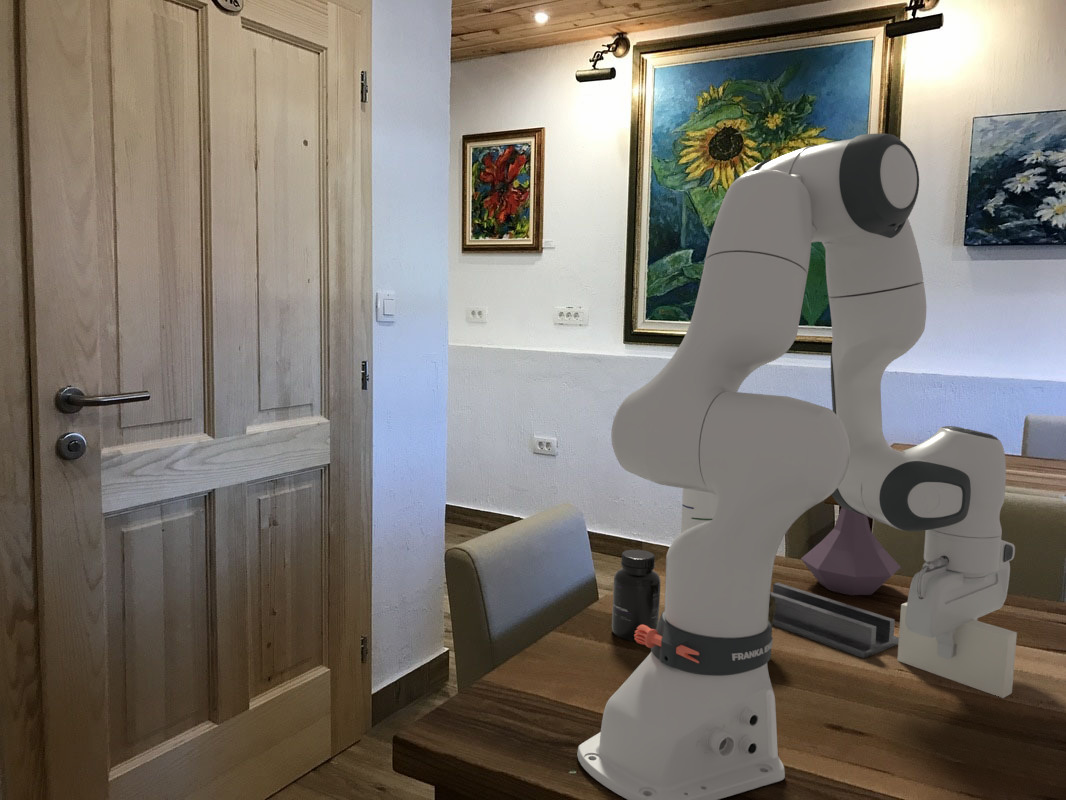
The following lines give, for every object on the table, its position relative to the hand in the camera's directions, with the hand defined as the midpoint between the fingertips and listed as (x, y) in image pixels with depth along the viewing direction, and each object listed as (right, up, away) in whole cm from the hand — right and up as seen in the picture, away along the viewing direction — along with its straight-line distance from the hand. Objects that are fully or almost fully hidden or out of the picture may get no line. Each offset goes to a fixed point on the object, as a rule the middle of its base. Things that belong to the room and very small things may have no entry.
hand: (953, 653), depth 113 cm
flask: (0, +1, +37) cm, 37 cm away
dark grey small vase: (-26, -2, +7) cm, 27 cm away
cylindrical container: (-25, +2, +43) cm, 49 cm away
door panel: (0, -3, 0) cm, 3 cm away
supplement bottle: (-40, -1, +13) cm, 43 cm away
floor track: (-12, -1, +16) cm, 20 cm away
